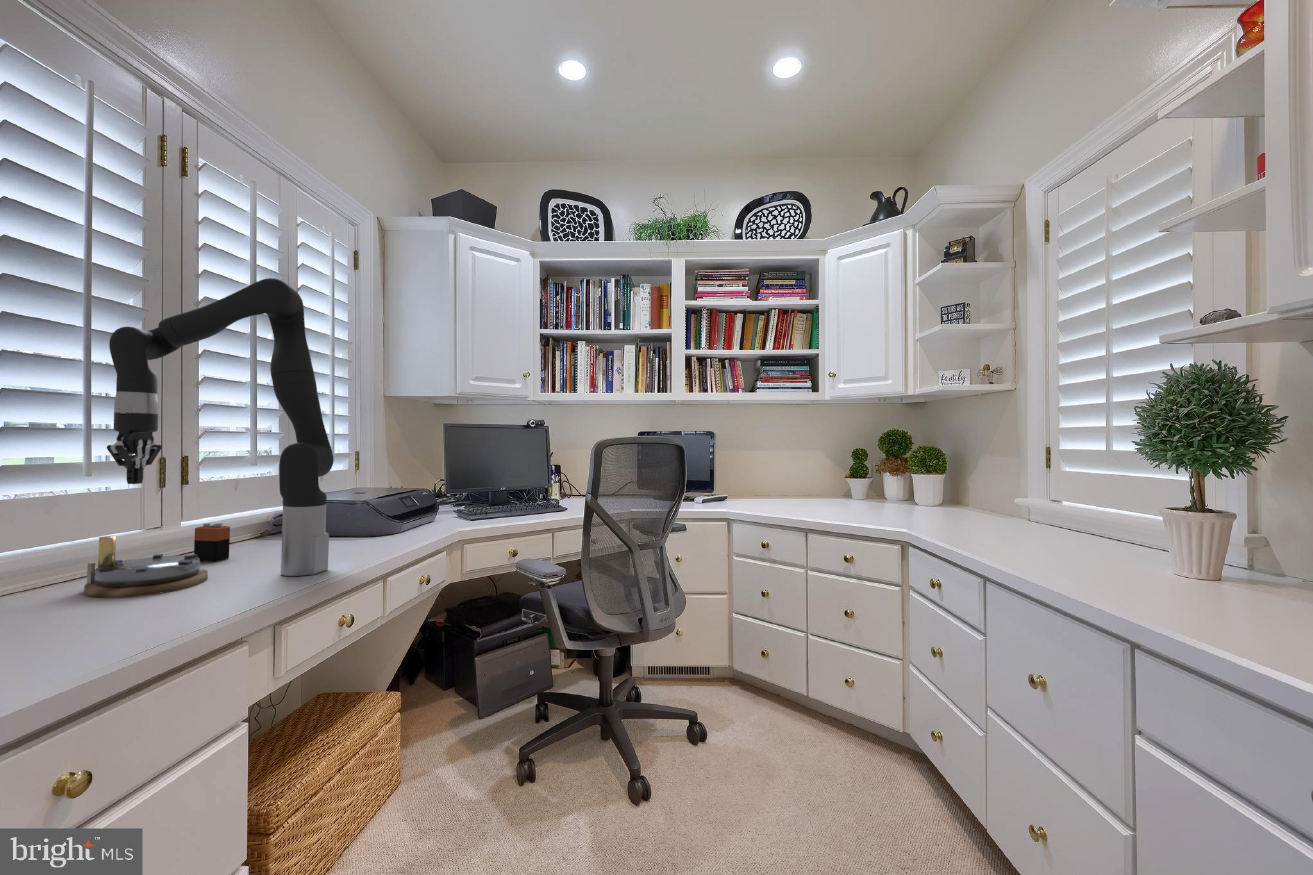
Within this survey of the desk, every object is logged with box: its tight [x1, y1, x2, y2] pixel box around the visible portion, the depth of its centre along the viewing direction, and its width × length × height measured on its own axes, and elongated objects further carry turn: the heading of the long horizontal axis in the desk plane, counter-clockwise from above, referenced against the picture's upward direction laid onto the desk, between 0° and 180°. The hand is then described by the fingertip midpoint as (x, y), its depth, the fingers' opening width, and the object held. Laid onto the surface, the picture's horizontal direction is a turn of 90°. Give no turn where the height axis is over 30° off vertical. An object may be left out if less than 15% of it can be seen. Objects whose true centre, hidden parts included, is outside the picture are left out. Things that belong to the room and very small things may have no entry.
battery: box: [193, 522, 231, 563], centre depth 142 cm, size 4×7×10 cm, turn 85°
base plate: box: [83, 562, 209, 599], centre depth 118 cm, size 20×20×6 cm
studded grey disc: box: [95, 535, 201, 587], centre depth 118 cm, size 17×17×10 cm
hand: (134, 483), depth 124 cm, fingers closed
